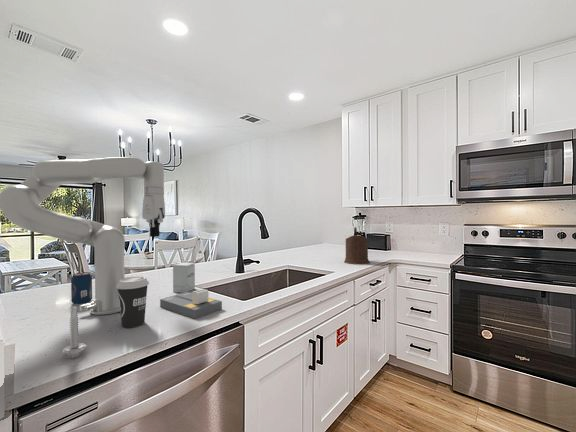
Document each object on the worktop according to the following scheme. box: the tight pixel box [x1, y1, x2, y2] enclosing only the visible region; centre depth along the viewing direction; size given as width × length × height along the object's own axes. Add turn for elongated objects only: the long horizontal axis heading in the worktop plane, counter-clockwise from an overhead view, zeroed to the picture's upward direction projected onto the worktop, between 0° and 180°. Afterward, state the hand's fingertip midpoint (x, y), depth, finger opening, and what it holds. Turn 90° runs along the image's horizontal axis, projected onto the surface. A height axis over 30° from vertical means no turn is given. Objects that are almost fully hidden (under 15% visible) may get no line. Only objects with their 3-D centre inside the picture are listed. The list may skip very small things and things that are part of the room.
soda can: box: [70, 271, 93, 306], centre depth 116 cm, size 7×7×12 cm
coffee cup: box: [116, 275, 150, 329], centre depth 93 cm, size 10×10×15 cm
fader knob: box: [191, 288, 209, 304], centre depth 105 cm, size 5×3×4 cm, turn 144°
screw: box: [62, 305, 87, 359], centre depth 72 cm, size 13×5×5 cm
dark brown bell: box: [343, 226, 370, 266], centre depth 208 cm, size 18×24×25 cm
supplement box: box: [172, 262, 196, 293], centre depth 133 cm, size 7×7×13 cm
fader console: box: [159, 291, 223, 320], centre depth 108 cm, size 12×22×3 cm, turn 54°
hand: (154, 236), depth 116 cm, fingers closed
